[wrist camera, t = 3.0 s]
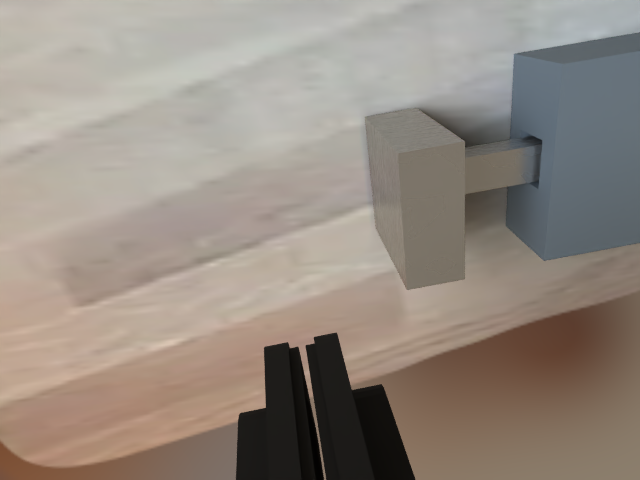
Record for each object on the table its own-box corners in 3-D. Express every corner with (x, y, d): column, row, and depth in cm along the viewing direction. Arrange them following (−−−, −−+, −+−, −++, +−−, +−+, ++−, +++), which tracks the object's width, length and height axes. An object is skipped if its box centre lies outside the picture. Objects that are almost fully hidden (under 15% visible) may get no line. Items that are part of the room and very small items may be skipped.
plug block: (543, 85, 22) (631, 112, 17) (534, 199, 25) (607, 252, 20) (364, 116, 22) (397, 153, 17) (375, 228, 25) (407, 290, 20)
